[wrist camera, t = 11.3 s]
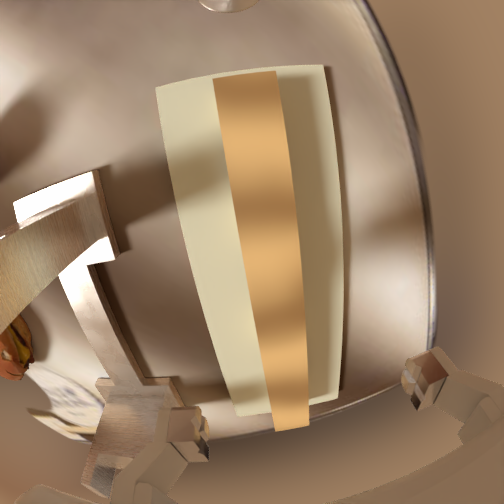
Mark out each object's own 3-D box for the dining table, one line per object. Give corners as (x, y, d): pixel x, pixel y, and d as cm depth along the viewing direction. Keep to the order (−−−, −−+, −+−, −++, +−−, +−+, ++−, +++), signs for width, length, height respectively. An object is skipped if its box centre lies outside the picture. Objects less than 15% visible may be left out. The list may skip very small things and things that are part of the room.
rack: (20, 199, 16) (-88, 255, 5) (98, 169, 16) (-36, 216, 5) (122, 414, 24) (101, 499, 14) (189, 414, 25) (181, 512, 14)
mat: (158, 89, 14) (155, 87, 13) (319, 68, 14) (322, 64, 14) (237, 410, 25) (237, 416, 24) (335, 392, 25) (337, 398, 24)
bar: (215, 90, 14) (212, 78, 11) (268, 83, 14) (275, 70, 11) (271, 406, 24) (275, 431, 21) (302, 401, 24) (309, 425, 21)
